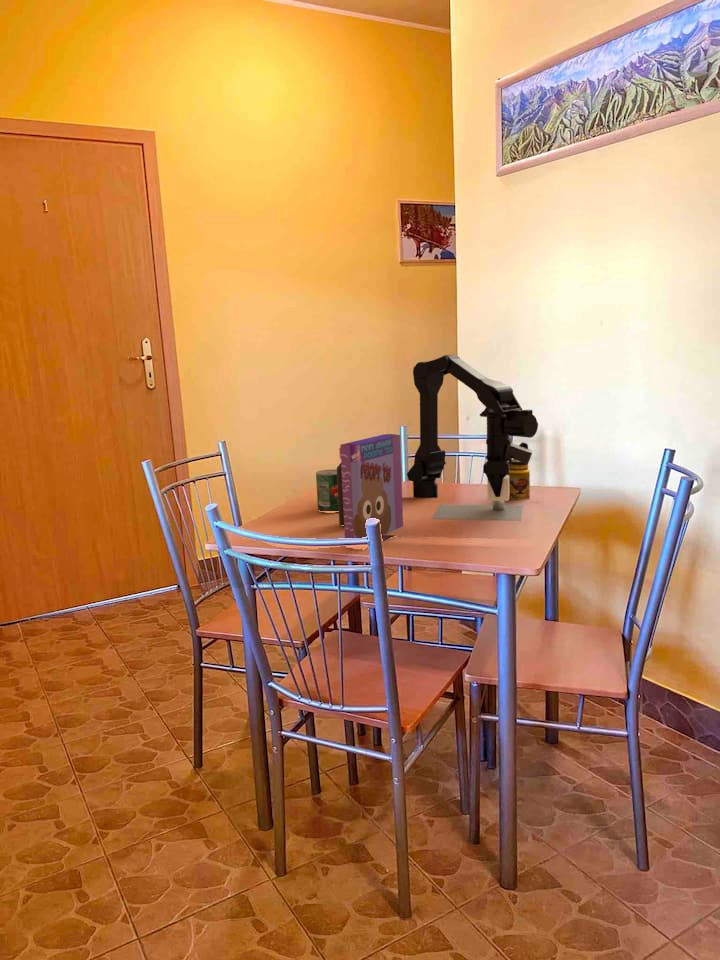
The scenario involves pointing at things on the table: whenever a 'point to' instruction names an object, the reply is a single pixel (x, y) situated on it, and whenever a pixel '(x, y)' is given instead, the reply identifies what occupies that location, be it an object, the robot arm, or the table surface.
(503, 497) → the cream colored cube
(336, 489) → the canned tomato
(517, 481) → the condiment
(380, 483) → the cereal box
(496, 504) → the post
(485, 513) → the base plate
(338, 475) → the bottle
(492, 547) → the table surface
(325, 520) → the table surface
